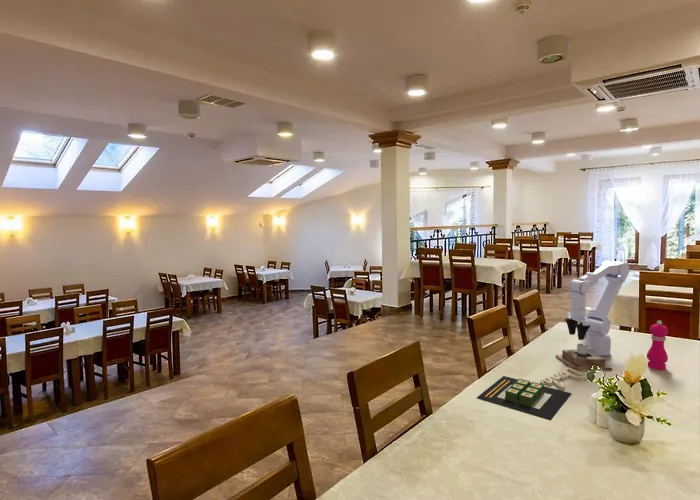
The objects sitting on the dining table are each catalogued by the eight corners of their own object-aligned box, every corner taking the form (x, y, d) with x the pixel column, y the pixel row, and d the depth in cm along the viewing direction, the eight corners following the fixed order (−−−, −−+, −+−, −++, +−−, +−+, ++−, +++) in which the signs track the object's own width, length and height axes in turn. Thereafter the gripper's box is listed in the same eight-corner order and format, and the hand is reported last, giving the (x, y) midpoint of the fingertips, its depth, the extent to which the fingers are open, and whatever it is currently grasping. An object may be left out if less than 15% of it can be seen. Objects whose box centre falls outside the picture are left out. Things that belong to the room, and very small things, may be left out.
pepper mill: (647, 368, 179) (650, 321, 177) (645, 363, 185) (647, 317, 183) (668, 371, 175) (672, 323, 173) (665, 365, 182) (668, 319, 180)
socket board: (591, 356, 194) (591, 347, 193) (612, 370, 178) (612, 360, 177) (555, 356, 194) (555, 348, 193) (573, 370, 178) (573, 361, 178)
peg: (585, 359, 187) (585, 343, 187) (588, 362, 183) (589, 346, 183) (575, 359, 188) (575, 343, 187) (578, 362, 184) (579, 346, 183)
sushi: (503, 378, 173) (503, 369, 172) (571, 395, 157) (571, 385, 156) (476, 399, 154) (476, 389, 154) (550, 422, 138) (550, 411, 137)
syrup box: (599, 337, 221) (600, 309, 220) (587, 337, 221) (589, 309, 220) (593, 333, 227) (594, 306, 225) (582, 333, 227) (583, 306, 225)
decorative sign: (567, 366, 179) (591, 374, 171) (566, 370, 179) (591, 378, 171) (535, 380, 166) (560, 389, 158) (535, 384, 166) (560, 393, 158)
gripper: (560, 303, 198) (559, 332, 199) (577, 311, 183) (576, 342, 185) (576, 303, 198) (574, 332, 199) (594, 311, 183) (592, 342, 185)
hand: (576, 337), depth 192 cm, fingers open, 7 cm apart
